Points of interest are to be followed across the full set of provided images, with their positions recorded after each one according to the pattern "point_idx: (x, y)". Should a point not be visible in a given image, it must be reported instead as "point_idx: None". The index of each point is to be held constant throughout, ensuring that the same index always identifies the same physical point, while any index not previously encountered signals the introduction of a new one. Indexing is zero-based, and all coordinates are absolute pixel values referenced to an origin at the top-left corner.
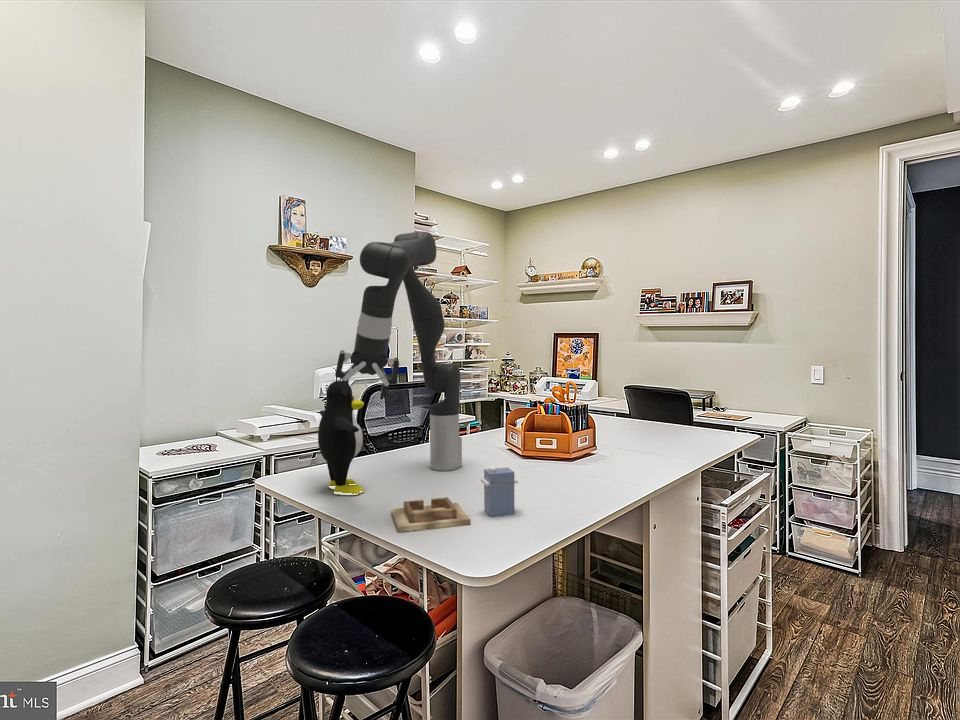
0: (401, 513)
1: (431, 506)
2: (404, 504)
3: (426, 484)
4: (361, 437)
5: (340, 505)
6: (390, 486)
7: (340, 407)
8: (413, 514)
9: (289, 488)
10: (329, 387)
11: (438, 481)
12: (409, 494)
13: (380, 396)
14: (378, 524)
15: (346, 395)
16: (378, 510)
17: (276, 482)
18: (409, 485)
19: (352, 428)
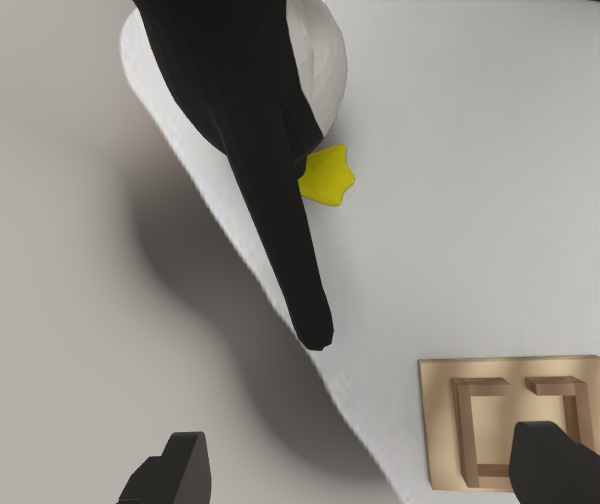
0: (444, 401)
1: (526, 379)
2: (457, 396)
3: (526, 135)
4: (342, 84)
5: None
6: (422, 137)
7: (213, 43)
8: (477, 486)
9: (181, 114)
10: None
11: (567, 110)
12: (470, 218)
13: (522, 469)
14: (388, 417)
15: (209, 487)
16: (388, 324)
17: (148, 60)
18: (475, 136)
19: (303, 339)
